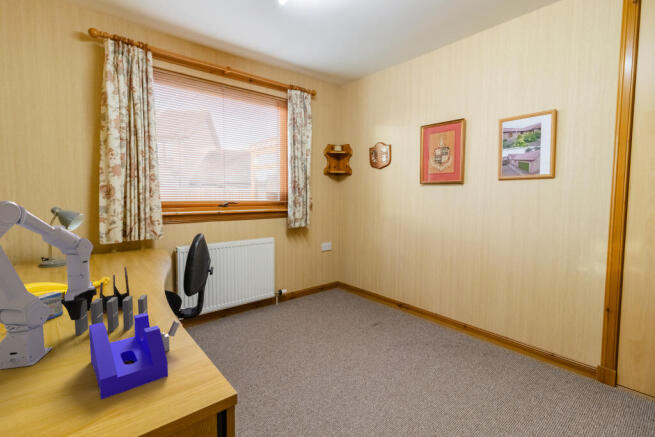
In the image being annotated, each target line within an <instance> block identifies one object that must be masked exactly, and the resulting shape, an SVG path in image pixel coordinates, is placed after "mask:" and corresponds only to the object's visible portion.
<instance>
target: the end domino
mask: <svg viewBox="0 0 655 437" xmlns="http://www.w3.org/2000/svg"><path fill="white" fill-rule="evenodd" d="M148 310H149V309H148V294H141V295H140V297H138V299H137V311H138V312H137V313H138V314H143V313H147V314H148V315H149V313H148ZM138 314H137V315H138Z"/></svg>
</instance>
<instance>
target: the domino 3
mask: <svg viewBox="0 0 655 437" xmlns="http://www.w3.org/2000/svg"><path fill="white" fill-rule="evenodd" d="M106 314H107V316H106V318H107V333H110V332H114V331H115V330H116V329H117V328H118V327H119V325H120V324H119V322H120V320H119V311H118V298H117V297H112V298H111V299H110V300H109V301H107V313H106Z"/></svg>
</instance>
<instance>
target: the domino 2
mask: <svg viewBox="0 0 655 437" xmlns="http://www.w3.org/2000/svg"><path fill="white" fill-rule="evenodd" d="M90 320H91V321H90V323H91V324H90V325H93V324H97V323H102V322H103V323H104V313H103V306H102V298H100V297H98V298H96V299H94V300H92V303H90Z"/></svg>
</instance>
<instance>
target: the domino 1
mask: <svg viewBox="0 0 655 437" xmlns="http://www.w3.org/2000/svg"><path fill="white" fill-rule="evenodd" d="M88 316H89V315H88V311H87V299H86V300H84V301H83V303H82V307H81V316H80V319H79V320H74V331H75V333H74V334H75V336H82V335H83V334H85V332H86V331H87V330H89V318H88Z"/></svg>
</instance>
